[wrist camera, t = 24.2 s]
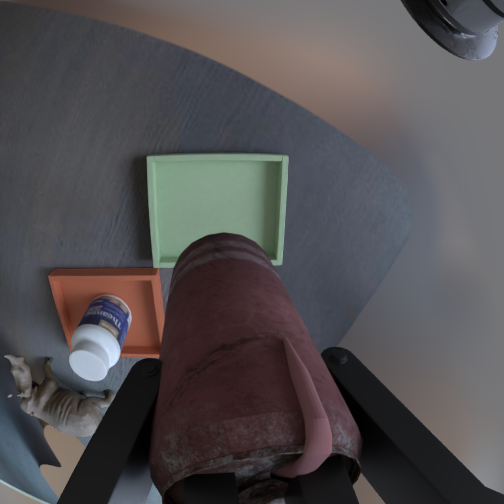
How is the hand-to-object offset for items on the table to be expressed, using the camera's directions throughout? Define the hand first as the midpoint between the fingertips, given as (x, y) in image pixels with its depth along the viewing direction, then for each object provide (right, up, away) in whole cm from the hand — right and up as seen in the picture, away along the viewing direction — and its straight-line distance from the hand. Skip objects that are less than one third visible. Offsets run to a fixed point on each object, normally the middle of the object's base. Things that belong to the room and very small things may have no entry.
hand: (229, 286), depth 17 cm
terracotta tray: (-16, -5, +17) cm, 23 cm away
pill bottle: (-15, -5, +16) cm, 23 cm away
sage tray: (-2, +6, +14) cm, 16 cm away
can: (-1, +1, +2) cm, 2 cm away
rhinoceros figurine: (-27, -16, +20) cm, 37 cm away
